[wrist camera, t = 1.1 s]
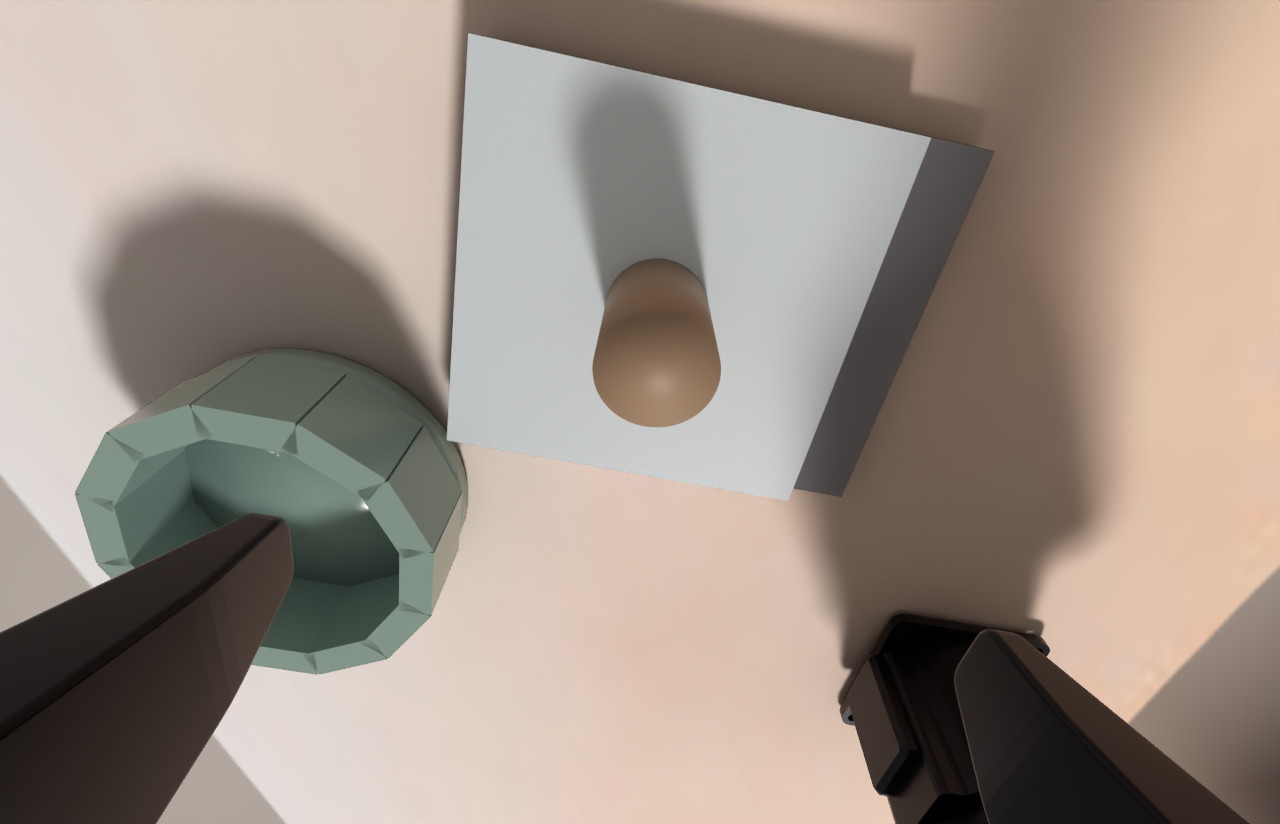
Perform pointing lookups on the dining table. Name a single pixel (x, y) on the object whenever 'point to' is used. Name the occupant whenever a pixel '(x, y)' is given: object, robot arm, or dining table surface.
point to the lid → (659, 267)
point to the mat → (892, 308)
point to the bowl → (293, 495)
